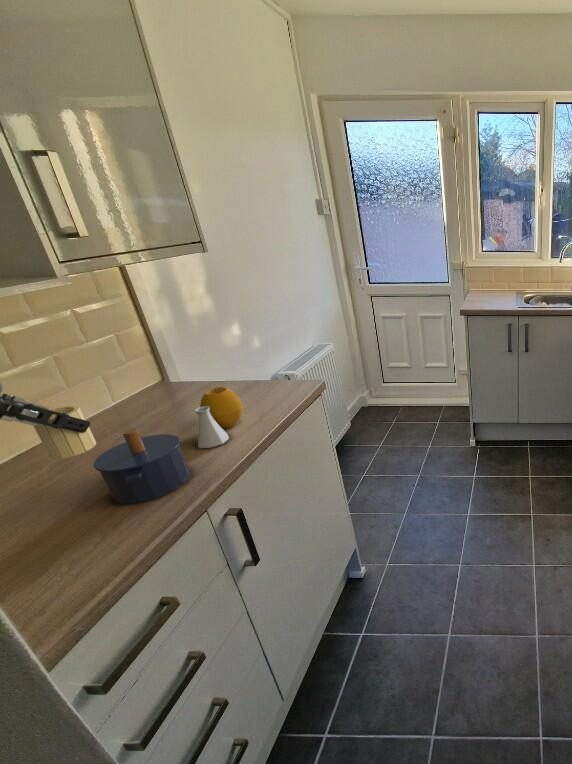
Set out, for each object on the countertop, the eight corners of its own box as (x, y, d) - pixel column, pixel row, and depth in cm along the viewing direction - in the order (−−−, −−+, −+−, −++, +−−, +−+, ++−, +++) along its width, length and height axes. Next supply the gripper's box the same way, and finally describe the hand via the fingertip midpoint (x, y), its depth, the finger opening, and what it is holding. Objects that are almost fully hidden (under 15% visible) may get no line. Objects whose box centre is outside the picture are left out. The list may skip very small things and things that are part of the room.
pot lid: (86, 483, 82) (72, 457, 80) (105, 449, 93) (93, 426, 91) (177, 460, 89) (167, 436, 86) (184, 432, 100) (175, 409, 98)
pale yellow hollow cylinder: (44, 462, 71) (23, 424, 68) (56, 446, 76) (38, 410, 73) (90, 452, 74) (73, 415, 71) (100, 437, 79) (83, 402, 76)
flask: (194, 451, 107) (181, 417, 103) (201, 438, 113) (189, 405, 109) (226, 445, 109) (215, 412, 105) (232, 432, 116) (221, 400, 112)
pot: (102, 520, 84) (85, 485, 80) (123, 473, 99) (109, 442, 95) (185, 497, 90) (172, 464, 87) (193, 456, 105) (181, 426, 102)
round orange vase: (215, 419, 123) (202, 383, 118) (251, 415, 125) (240, 379, 121) (201, 435, 114) (188, 397, 110) (241, 430, 117) (229, 393, 112)
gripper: (-17, 372, 59) (112, 410, 74) (-69, 362, 63) (63, 400, 78) (-53, 422, 57) (88, 451, 72) (-105, 407, 61) (39, 437, 76)
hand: (74, 424), depth 75 cm, fingers closed on pale yellow hollow cylinder, 6 cm apart
